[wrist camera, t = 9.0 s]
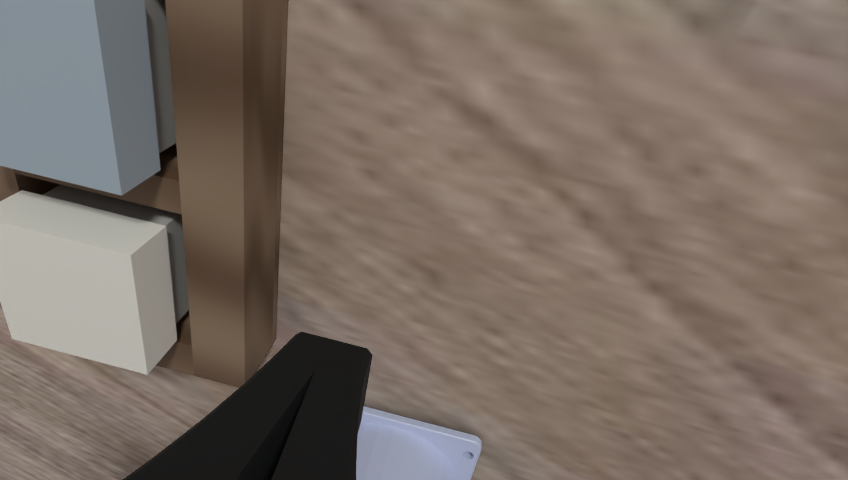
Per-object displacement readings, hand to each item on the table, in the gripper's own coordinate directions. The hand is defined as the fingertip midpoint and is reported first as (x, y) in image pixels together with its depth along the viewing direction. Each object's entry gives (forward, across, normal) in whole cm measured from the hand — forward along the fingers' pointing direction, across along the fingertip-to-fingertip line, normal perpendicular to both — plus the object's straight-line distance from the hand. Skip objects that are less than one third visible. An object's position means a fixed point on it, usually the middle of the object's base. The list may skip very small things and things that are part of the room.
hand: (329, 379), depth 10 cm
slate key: (+8, +10, -2) cm, 13 cm away
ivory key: (+8, +10, +5) cm, 14 cm away
